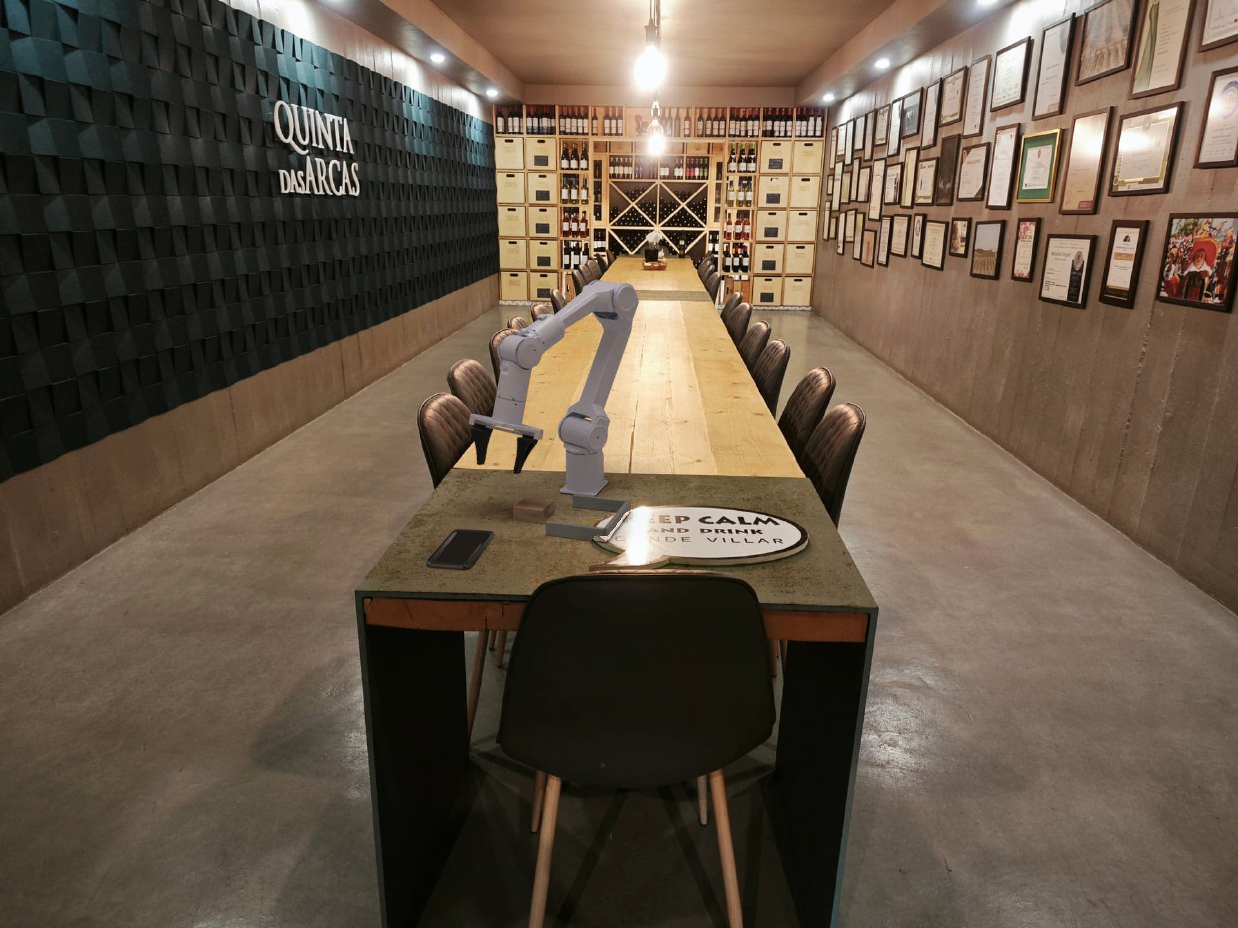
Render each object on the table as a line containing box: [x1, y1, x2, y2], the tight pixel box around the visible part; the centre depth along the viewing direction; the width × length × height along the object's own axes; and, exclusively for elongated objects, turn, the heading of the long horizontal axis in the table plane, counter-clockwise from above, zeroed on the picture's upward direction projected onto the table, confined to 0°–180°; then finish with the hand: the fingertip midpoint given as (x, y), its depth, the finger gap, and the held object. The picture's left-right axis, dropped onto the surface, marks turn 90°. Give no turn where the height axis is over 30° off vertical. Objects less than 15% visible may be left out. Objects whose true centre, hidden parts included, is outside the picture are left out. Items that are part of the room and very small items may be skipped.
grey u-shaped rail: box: [545, 494, 632, 542], centre depth 149 cm, size 16×12×2 cm
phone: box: [426, 528, 495, 571], centre depth 138 cm, size 8×1×15 cm
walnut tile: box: [512, 496, 555, 525], centre depth 153 cm, size 6×6×3 cm
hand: (498, 468), depth 150 cm, fingers open, 7 cm apart
